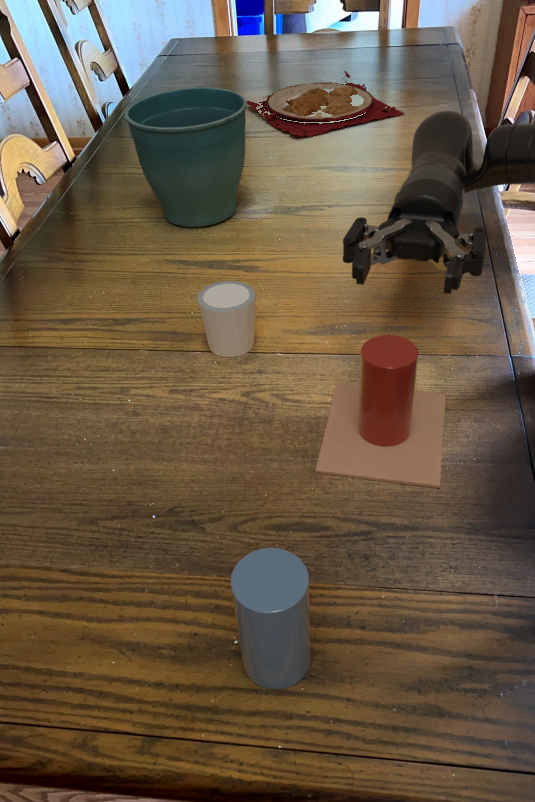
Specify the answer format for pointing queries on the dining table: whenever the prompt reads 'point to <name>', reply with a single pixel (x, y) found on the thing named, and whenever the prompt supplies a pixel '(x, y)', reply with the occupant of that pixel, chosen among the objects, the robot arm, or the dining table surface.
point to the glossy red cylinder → (387, 389)
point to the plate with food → (313, 100)
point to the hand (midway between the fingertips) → (402, 281)
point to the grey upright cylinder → (273, 616)
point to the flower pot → (191, 151)
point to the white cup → (228, 317)
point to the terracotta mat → (393, 464)
